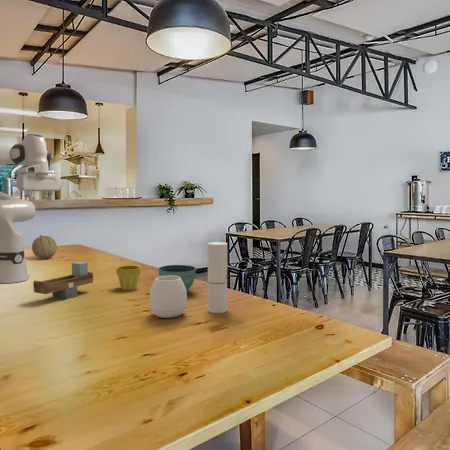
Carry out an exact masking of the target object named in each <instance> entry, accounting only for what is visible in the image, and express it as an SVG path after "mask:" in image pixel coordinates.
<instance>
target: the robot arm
mask: <svg viewBox="0 0 450 450" xmlns="http://www.w3.org/2000/svg"><path fill="white" fill-rule="evenodd" d="M51 161H52V153H51V151H50V149H49V148H48V147H47V143H46V138H45V137H44V136H43V135H41V134H35V133H28V134H27V133H26V134H25V136H24V138H23V140H21V141H20V142H18V143H16V144H14V145H13V146H12V147H9V146H7V145H6V146H5V145H2V144H0V166H4V165H9V164H10V165H11V164H15V165H18V166H23V167H22V168H18V169H16V174H17V176H16V188H17V190H18V191H19V192H25V195H26V196H27V197H28V199H22V198H20V197H16V196H15V195H14V196H13V195H10V194H7V193H5V192H2V191H0V284H13V283H20V282H24V281H27V280H28V279H29V278H30V274H28V267H27V262H26V260H25V250H24V236H23V234H22V233H21V232H20V231H18V230H16V229H15V228H14V226H13V223H23V222H26V221H30V220H32V219H33V218H34V217H35V215H36V206H35V204H34V203H33V202H35V196H33V195H32V192H48V196H47V197H46V199H47V201H48V202H52V201H53V196H54V194H55V192H58V191H60V189H61V183H60V179H59V174H58V173H57V172H56V171H55V170H50V168H49V164H50V163H51ZM47 201H46V202H47Z"/></svg>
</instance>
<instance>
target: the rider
mask: <svg viewBox="0 0 450 450" xmlns="http://www.w3.org/2000/svg"><path fill="white" fill-rule="evenodd" d="M88 269H89V268H88V262H84V261H75V262H71V275H74V278H75V277H79V276H84V275H87V274H88V272H89V271H88Z"/></svg>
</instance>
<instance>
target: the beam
mask: <svg viewBox="0 0 450 450" xmlns="http://www.w3.org/2000/svg"><path fill="white" fill-rule="evenodd" d="M93 283H94V272H92V271H88V274H87V275H84V276H79V277H75V278H74V275H72V274H70V275H65V276H60V277H56V278H51V279H47V280H41V281H40V280H33V284H32V285H33V293H36V294H42V295H49V294H52V298H55V299H56V298H57V299H62V300H70V299H73V298H76V297H78V295H79V294H78V292H79V291H78V287H81V286H85V285H88V284H93Z"/></svg>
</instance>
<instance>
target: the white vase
mask: <svg viewBox="0 0 450 450" xmlns="http://www.w3.org/2000/svg"><path fill="white" fill-rule="evenodd" d="M149 290H150V291H149V307H150V309H151V312H152V314H153V315H155V316H156V317H158V318H163V319H164V318H167V319H169V318H170V319H171V318H177V317H180V316H181V315H182V314H183V313H184V312H185V310H186V308H187V305H188V295H187V294H188V293H187V292H186V288H185V285H184V283H183V281H182V280H181V278H180V277H178V276H170V275H168V276H160V277H159V276H157V277H155V279H154V280H153V283H152V284H151V287H150V289H149Z"/></svg>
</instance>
